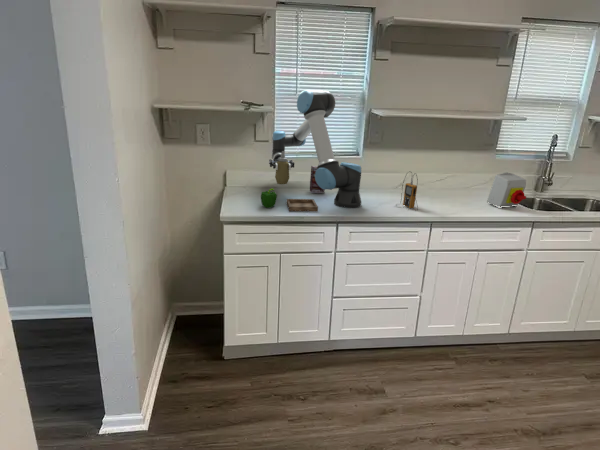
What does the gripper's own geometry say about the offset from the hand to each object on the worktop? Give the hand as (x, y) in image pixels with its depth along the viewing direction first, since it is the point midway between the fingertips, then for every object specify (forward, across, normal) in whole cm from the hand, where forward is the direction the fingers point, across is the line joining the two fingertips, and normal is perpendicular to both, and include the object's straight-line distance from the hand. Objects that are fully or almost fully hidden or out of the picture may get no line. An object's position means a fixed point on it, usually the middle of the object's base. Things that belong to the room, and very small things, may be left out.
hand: (283, 167), depth 228 cm
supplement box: (-22, -23, -19) cm, 37 cm away
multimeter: (+9, -67, -20) cm, 70 cm away
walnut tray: (+11, -9, -19) cm, 24 cm away
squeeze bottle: (-5, 0, -10) cm, 11 cm away
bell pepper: (+11, +8, -19) cm, 24 cm away
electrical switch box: (+6, -131, -20) cm, 133 cm away
